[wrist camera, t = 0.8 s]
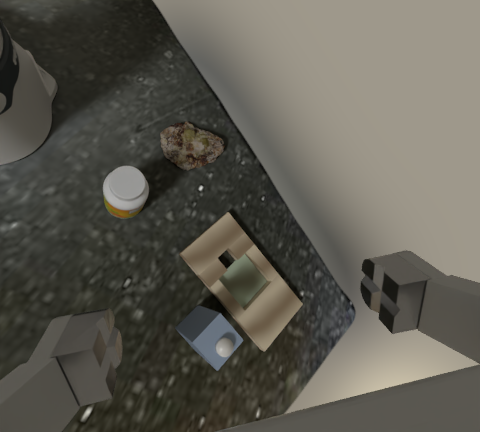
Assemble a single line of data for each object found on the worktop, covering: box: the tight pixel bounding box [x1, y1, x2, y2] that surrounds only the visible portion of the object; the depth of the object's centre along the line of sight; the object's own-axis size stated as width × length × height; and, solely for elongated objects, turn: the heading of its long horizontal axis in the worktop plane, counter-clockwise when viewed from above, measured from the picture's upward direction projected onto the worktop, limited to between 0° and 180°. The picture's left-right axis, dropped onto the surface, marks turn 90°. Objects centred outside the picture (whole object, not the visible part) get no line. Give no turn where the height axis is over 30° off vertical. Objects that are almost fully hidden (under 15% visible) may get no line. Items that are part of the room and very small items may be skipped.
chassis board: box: [179, 212, 303, 352], centre depth 47 cm, size 20×10×2 cm, turn 42°
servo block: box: [176, 305, 243, 371], centre depth 39 cm, size 4×4×11 cm
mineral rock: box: [160, 121, 225, 171], centre depth 48 cm, size 11×4×8 cm
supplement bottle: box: [103, 166, 149, 219], centre depth 38 cm, size 5×5×10 cm
